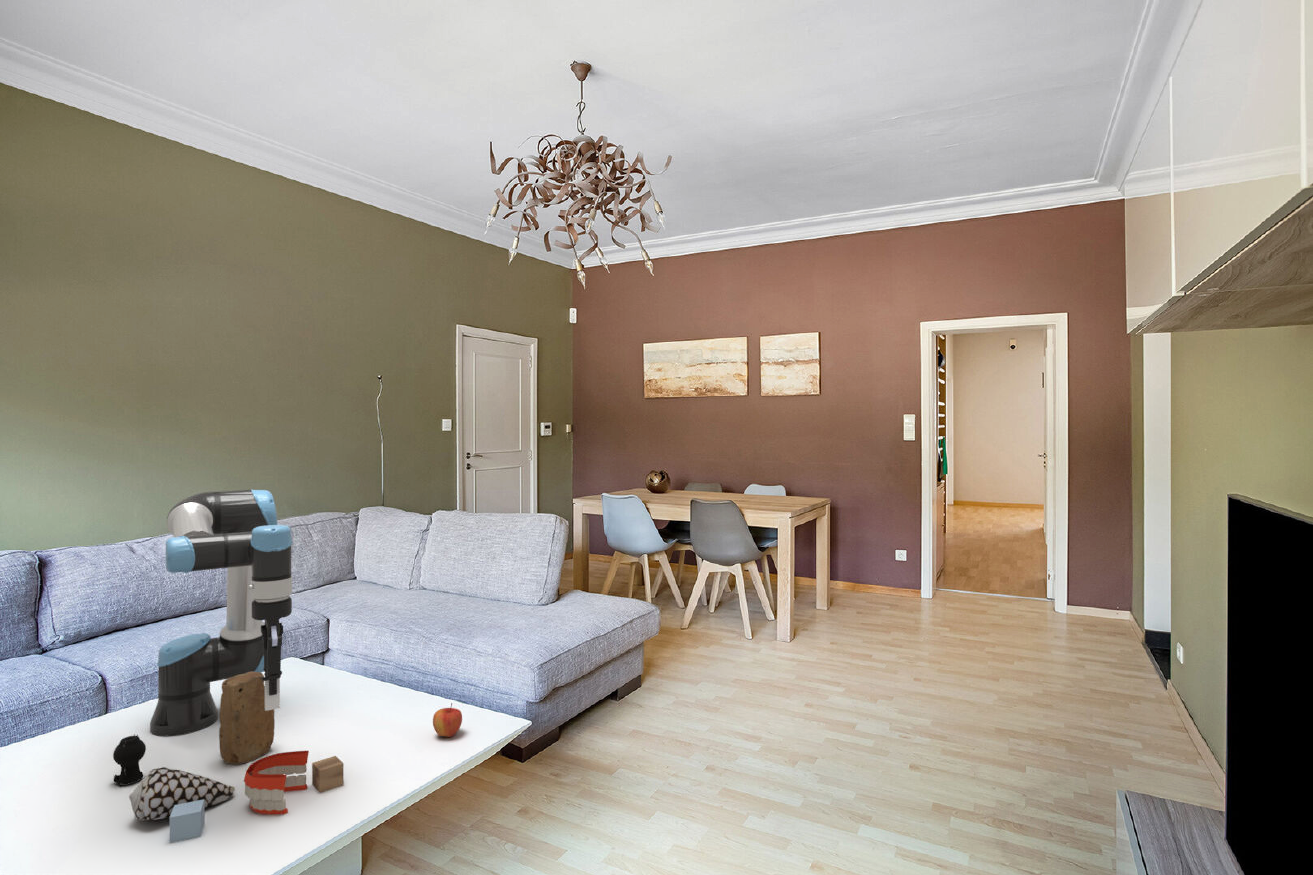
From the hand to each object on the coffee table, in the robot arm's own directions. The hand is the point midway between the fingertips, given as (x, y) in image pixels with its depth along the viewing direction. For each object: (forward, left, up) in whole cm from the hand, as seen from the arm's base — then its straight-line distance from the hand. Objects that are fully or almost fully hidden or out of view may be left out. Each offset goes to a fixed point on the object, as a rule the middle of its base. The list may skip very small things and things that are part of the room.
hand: (272, 708), depth 147 cm
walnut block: (-1, +11, -20) cm, 23 cm away
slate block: (+4, -15, -20) cm, 25 cm away
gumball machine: (-28, -26, -20) cm, 43 cm away
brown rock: (-27, -3, -20) cm, 34 cm away
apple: (-11, +41, -20) cm, 47 cm away
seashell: (-7, -16, -20) cm, 27 cm away
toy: (0, 0, -20) cm, 20 cm away
